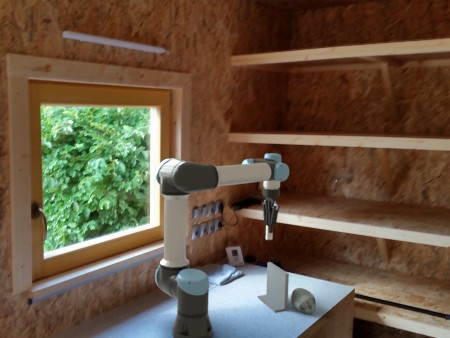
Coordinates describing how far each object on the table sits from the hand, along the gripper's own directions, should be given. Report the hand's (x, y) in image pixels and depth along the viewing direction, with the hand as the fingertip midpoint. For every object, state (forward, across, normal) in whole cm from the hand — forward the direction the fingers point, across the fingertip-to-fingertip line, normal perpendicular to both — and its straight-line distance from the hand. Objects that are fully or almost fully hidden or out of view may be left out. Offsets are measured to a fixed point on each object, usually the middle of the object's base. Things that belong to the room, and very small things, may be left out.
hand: (269, 239), depth 210 cm
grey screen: (+26, -11, +3) cm, 28 cm away
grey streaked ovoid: (+26, -20, -7) cm, 34 cm away
